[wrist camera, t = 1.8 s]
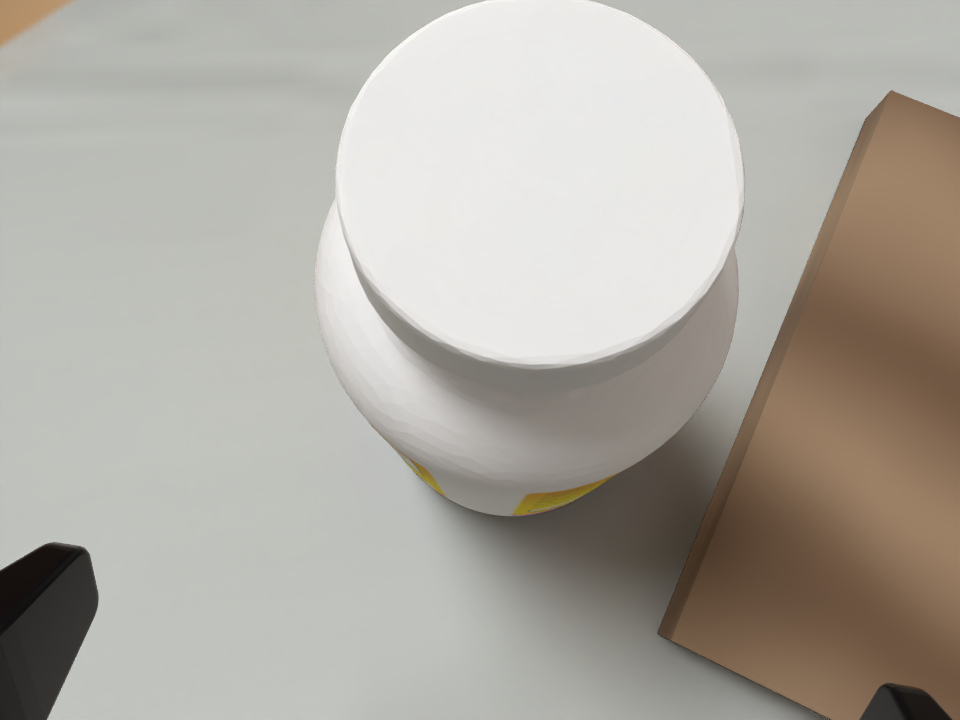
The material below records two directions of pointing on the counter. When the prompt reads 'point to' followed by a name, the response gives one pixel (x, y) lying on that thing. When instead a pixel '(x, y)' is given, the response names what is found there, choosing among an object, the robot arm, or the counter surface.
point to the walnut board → (850, 450)
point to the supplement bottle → (531, 249)
